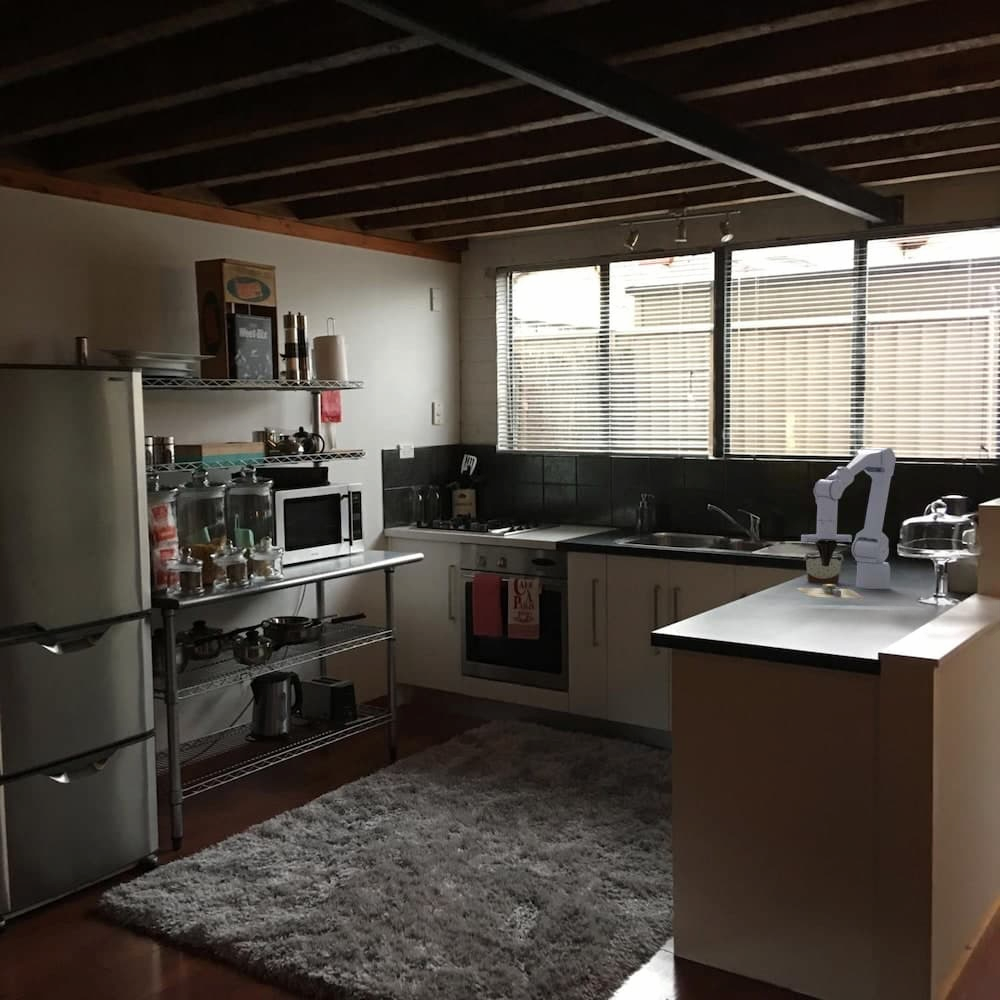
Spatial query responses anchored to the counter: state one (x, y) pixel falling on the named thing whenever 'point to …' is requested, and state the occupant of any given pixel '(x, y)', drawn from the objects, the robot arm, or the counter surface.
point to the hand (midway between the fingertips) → (825, 565)
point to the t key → (831, 590)
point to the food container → (823, 568)
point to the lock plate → (820, 593)
